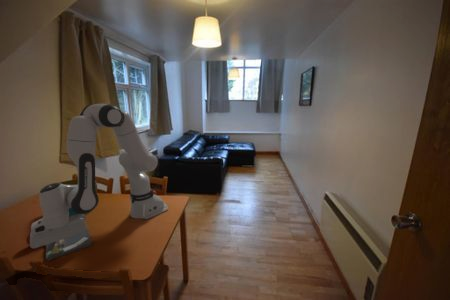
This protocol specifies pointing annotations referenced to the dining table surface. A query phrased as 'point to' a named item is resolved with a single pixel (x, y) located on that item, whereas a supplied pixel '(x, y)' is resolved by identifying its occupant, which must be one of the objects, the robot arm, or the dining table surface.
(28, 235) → the onion
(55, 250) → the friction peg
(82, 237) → the dial board
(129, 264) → the dining table surface
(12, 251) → the dining table surface
